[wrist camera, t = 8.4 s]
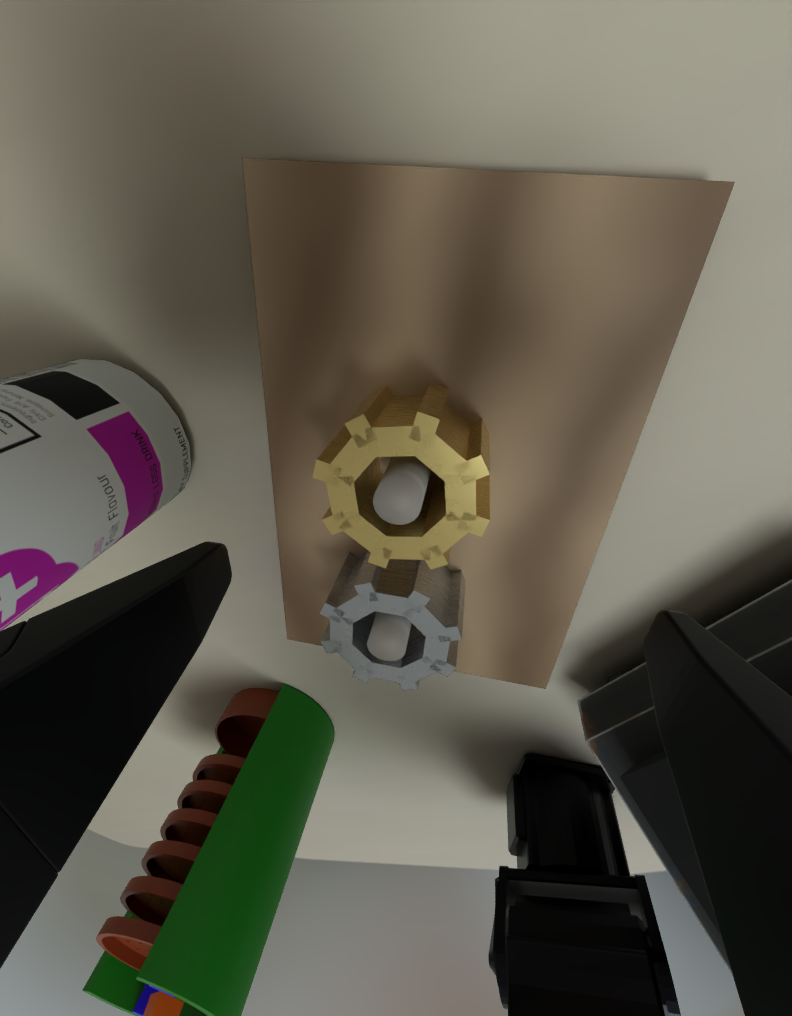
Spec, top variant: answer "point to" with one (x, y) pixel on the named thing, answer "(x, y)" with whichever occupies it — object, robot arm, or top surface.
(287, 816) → the motor
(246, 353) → the top surface
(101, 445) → the supplement can
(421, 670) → the steel gear
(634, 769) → the voltmeter
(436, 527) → the brass gear
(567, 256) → the board
